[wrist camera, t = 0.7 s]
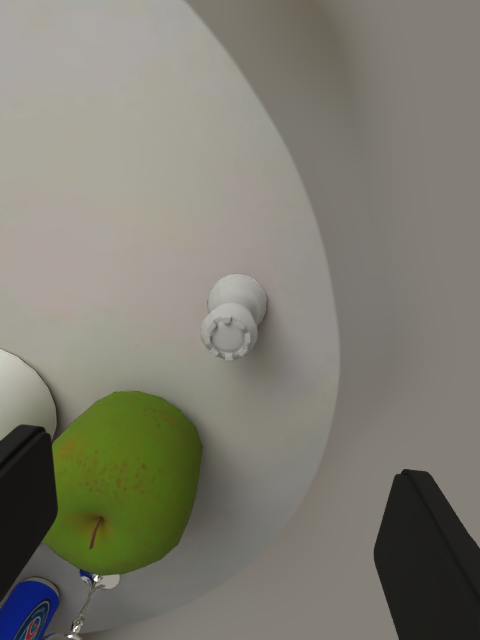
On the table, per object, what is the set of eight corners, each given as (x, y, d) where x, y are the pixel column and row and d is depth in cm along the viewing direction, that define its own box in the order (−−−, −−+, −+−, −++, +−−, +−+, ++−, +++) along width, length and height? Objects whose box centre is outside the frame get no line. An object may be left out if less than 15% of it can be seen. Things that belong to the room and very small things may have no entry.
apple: (219, 395, 29) (195, 500, 18) (195, 492, 32) (164, 626, 22) (91, 364, 28) (-6, 453, 18) (81, 465, 32) (-6, 587, 22)
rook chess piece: (197, 295, 26) (170, 330, 18) (243, 260, 25) (235, 283, 17) (232, 339, 27) (220, 390, 19) (278, 307, 26) (285, 348, 18)
